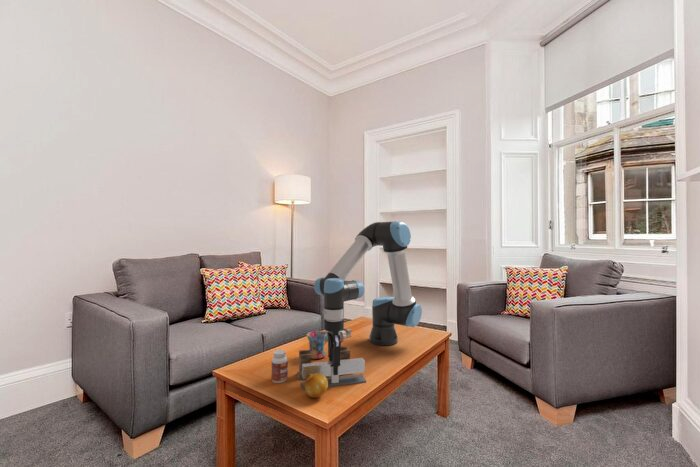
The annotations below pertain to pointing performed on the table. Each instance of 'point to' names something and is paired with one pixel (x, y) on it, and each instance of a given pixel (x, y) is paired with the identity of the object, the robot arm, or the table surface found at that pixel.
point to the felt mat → (344, 380)
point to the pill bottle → (279, 366)
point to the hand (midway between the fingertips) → (334, 380)
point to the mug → (317, 344)
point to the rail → (324, 367)
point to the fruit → (316, 385)
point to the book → (342, 334)
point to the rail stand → (306, 358)
